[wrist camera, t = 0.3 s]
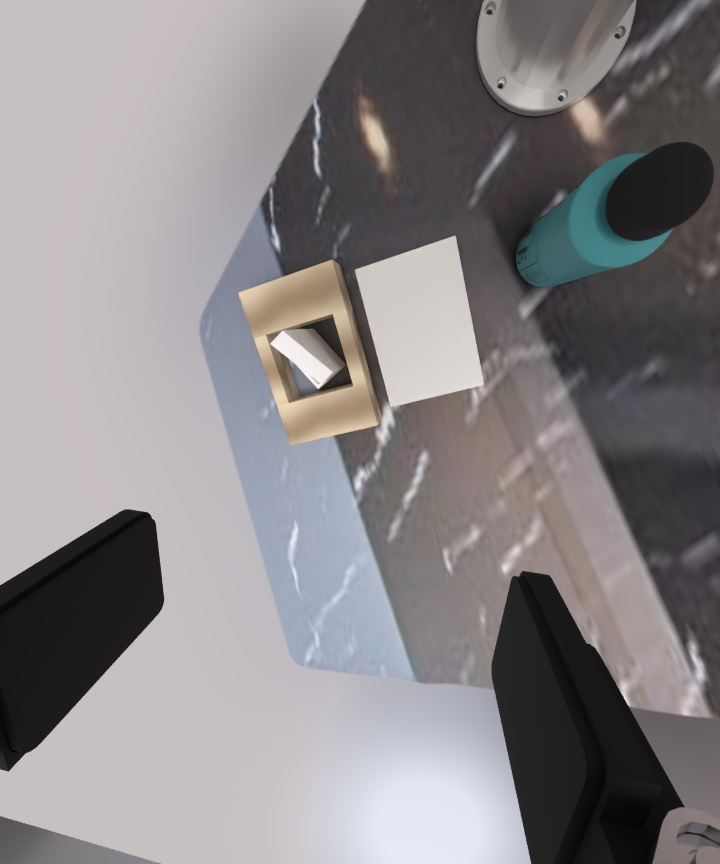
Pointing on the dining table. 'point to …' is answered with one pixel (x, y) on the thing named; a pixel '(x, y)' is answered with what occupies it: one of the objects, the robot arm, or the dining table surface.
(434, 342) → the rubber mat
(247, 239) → the dining table surface
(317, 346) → the white angled block
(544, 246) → the beverage bottle
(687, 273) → the dining table surface
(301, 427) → the block
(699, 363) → the dining table surface
